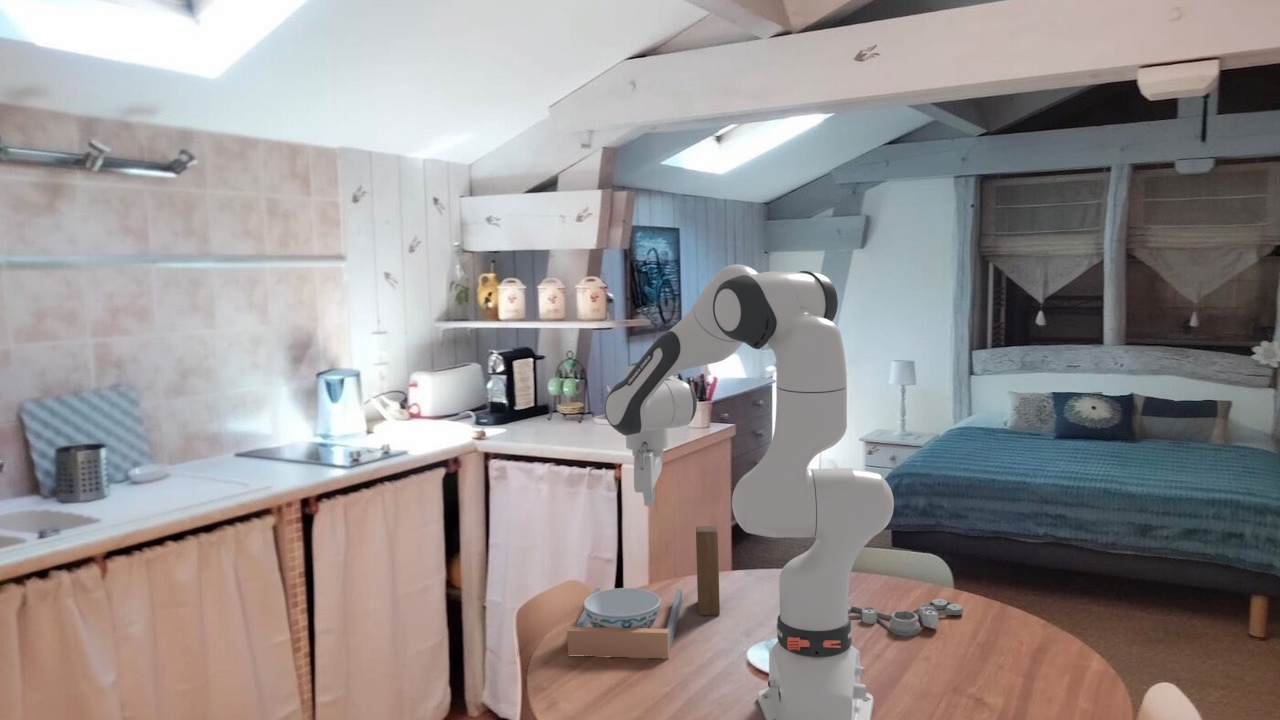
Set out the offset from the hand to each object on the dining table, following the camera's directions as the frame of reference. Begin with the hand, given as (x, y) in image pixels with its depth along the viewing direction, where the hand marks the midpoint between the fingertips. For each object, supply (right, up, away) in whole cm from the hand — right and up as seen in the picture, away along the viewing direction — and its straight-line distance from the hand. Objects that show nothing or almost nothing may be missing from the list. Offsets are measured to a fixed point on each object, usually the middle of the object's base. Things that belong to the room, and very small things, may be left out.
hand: (649, 504), depth 190 cm
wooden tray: (-4, -24, -4) cm, 25 cm away
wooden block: (+13, -23, +4) cm, 27 cm away
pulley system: (+50, -23, -6) cm, 56 cm away
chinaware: (-5, -25, -10) cm, 28 cm away
